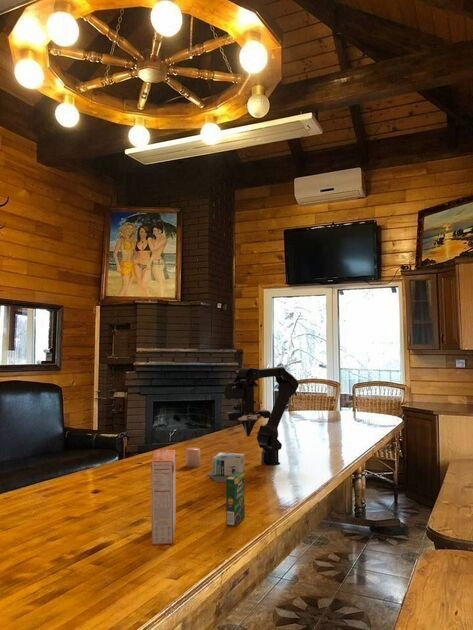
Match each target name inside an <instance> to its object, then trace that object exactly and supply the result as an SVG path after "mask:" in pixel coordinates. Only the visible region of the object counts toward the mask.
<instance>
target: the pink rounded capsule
mask: <svg viewBox="0 0 473 630" xmlns="http://www.w3.org/2000/svg"><path fill="white" fill-rule="evenodd" d="M200 466H201V448H200V447H187V448H185V467H186V468H191V469H192V468H193V469H194V468H199V467H200Z"/></svg>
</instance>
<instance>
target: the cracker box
mask: <svg viewBox="0 0 473 630" xmlns="http://www.w3.org/2000/svg"><path fill="white" fill-rule="evenodd" d="M150 480H151V481H150V483H151V484H150V486H151V487H150V488H151V489H150V490H151V495H150V496H151V497H150V503H151V504H150V505H151V509H150V510H151V512H150V514H151V515H150V516H151V545H152V546H158V545H159V546H161V545H174V544H175V535H176V534H175V533H176V519H177V517H176V514H177V513H176V512H177V511H176V509H177V507H176V450H175V449H156V450H154V453H153V456H152V459H151V462H150Z"/></svg>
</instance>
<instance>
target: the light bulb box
mask: <svg viewBox="0 0 473 630" xmlns="http://www.w3.org/2000/svg"><path fill="white" fill-rule="evenodd" d="M245 456H246V455H245V453H233V452H218V453H217V454H216V455H215V456H213V457H212V464H211V465H212V469H211V473H212V475H223V476H231V475H233V474H234V473H235V472H243V473H244V471H245V464H246V463H245V460H246V459H245Z"/></svg>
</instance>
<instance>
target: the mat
mask: <svg viewBox="0 0 473 630" xmlns="http://www.w3.org/2000/svg"><path fill="white" fill-rule="evenodd" d="M206 475H207V476H208V477H210V478H211V479H212V480H213V481H214V482H216V483H217V484H218V483H226V479H227V478H228V477H230V476H223V475H212V472H211V473H210V472H208V473H206ZM245 480H246V478H244V481H245Z"/></svg>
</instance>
